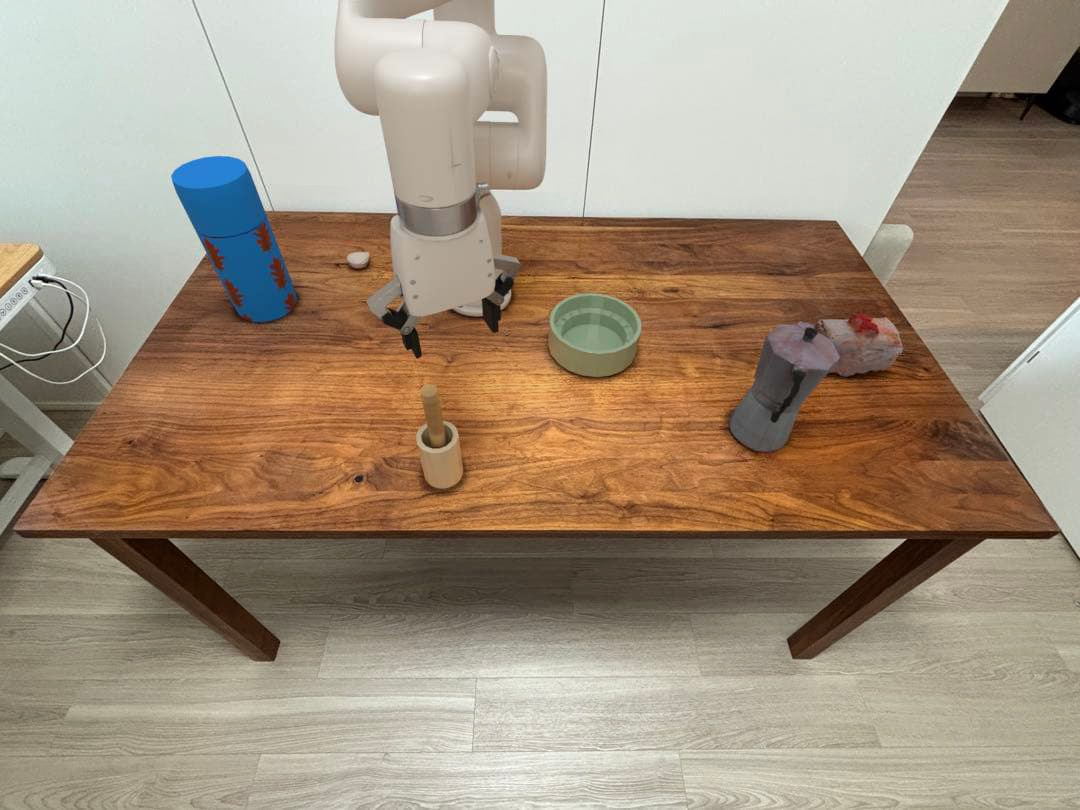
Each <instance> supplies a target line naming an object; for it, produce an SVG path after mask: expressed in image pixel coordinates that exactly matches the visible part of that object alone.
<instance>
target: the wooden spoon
mask: <svg viewBox="0 0 1080 810" xmlns="http://www.w3.org/2000/svg"><path fill="white" fill-rule="evenodd" d="M419 394H420V398H421V402H422V408H423V412H424V416H425V424H426V423H427V428H428V433H429V437H430V442H431V447H432V449H440V448H442V447H445V446H447V444H446V437H445V431H444V425H443V420H444V419H443V413H442V408H441V402H440V395H439V390H438V387H437V386H436V385H434V384H432V383H431V384H430V383H428V384H425V385H423V386H422V387H421V388H420V390H419Z"/></svg>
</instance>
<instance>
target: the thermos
mask: <svg viewBox="0 0 1080 810" xmlns="http://www.w3.org/2000/svg"><path fill="white" fill-rule="evenodd" d="M170 178H171V182H172V184H173V185H172V186H173V187H174V190H175V193H176V195H177V197H178V199H179V201H180V203H181V205H182V207H183V209H184V211H185V214H186V216H187V217H188V219H189V221H190V223H191V225H192V227H193V229H194V231H195V234H196V235H197V237H198V239H199V241H200V243H201V245H202V247H203V249H204V251H205V253H206V255H207V257H208V260H209V261H210V263H211V265H212V267H213V269H214V271H215V273H216V275H217V277H218V279H219V281H220V283H221V284H222V287H223V289H224V291H225V293H226V294H227V295H226V296H227V297H228V298H229V299H228V300H230V303H232V305H233V307H234V309H235V311H236V313H237V314H238V315H239V316H240V317H241V318H242V319H243V320H246V321H248V322H251V323H265V322H271V321H276V320H278V319H281V318H283V317H285V316H286V315H288V314H289V313H291V311H293V309H295V307H296V306H297V302H298V297H297V294H296V291H295V287H294V284H293V280H292V278H291V275H290V273H289V271H288V268H287V265H286V262H285V260H284V257H283V255H282V252H281V250H280V246H279V244H278V241H277V239H276V237H275V234H274V231H273V228H272V226H271V223H270V221H269V218H268V215H267V213H266V210H265V208H264V204H263V202H262V200H261V197H260V195H259V191H258V189H257V186H256V184H255V181H254V179H253V177H252V174H251V171H250V170H249V168H248V166H247V164H246V162H244V160H242V159H240V158H238V157H233V156H229V155H228V156H225V155H215V156H203V157H200V158H195V159H192V160H190V161H188V162H185V163H182V164H181V165H180V166H178V167H176V169H174V170H173V172H172V173H171V175H170Z"/></svg>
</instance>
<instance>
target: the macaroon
mask: <svg viewBox="0 0 1080 810" xmlns="http://www.w3.org/2000/svg"><path fill="white" fill-rule="evenodd" d="M346 261H347V264H348V265H349V266H350V267H351V268H353V269H356V270H357V269H362V268H365V267H366V266H367V265H368V263H369V261H370V252H368V251H355V252H351V253H349V254H348V255H347V256H346Z"/></svg>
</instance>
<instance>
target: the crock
mask: <svg viewBox="0 0 1080 810" xmlns="http://www.w3.org/2000/svg"><path fill="white" fill-rule="evenodd" d="M443 425H444V431H445V437H446V444H447V446H445V447H442V448H440V449H432V447H431V442H430V437H429V433H428V428H427V423H426V422H425V423H424V424H423V425H422V426H421V427H420V428H418V430H417V432H416V434H415V441H416V446H417V450H418V454H419V459H420V462H421V468H422V471H423V476H424V480H425V481H426V483H427V484H428V485H429V486H431V487H433V488H436V489H448V488H451V487H453V486H455V485H456V484H458V483H459V482H460V480H461V479H462V477H463V474H464V465H463V457H462V451H461V450H462V449H461V443H460V437H459V436H460V435H459V432H458V431H459V430H458V428H457V427H456V426H455V425H454V423H452V422H450V421H447V420H445V419H443Z"/></svg>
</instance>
